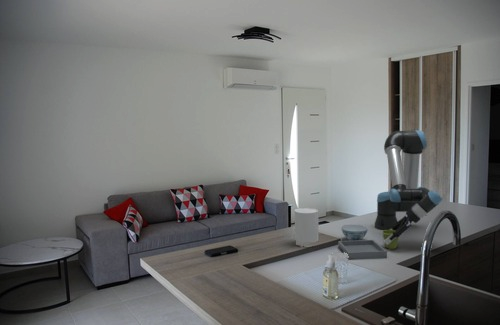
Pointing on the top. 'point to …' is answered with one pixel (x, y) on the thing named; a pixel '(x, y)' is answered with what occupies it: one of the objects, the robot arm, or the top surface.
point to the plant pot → (394, 243)
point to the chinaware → (354, 232)
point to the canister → (306, 225)
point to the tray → (362, 249)
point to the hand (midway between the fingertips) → (385, 240)
